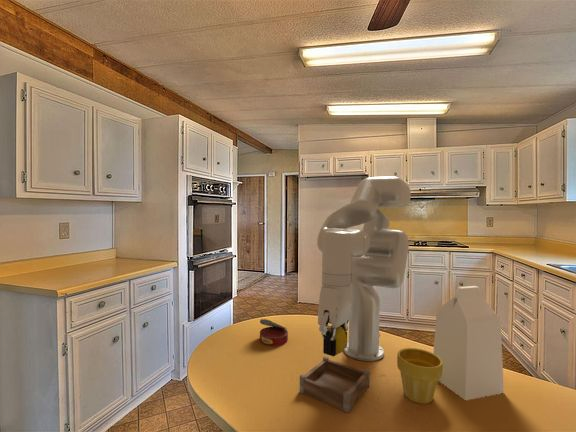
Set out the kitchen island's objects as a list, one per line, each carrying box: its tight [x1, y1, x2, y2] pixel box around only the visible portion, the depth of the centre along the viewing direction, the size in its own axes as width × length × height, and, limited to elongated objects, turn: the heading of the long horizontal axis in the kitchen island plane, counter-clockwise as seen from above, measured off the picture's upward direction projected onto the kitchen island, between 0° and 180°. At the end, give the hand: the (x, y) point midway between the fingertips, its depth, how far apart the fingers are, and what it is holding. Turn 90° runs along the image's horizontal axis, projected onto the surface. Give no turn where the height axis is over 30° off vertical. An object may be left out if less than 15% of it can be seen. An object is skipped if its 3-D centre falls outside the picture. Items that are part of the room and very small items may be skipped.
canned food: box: [259, 318, 289, 347], centre depth 109 cm, size 11×10×10 cm
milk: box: [432, 285, 505, 401], centre depth 82 cm, size 12×12×26 cm
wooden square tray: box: [299, 356, 371, 414], centre depth 80 cm, size 14×14×4 cm
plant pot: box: [396, 347, 443, 404], centre depth 77 cm, size 10×10×10 cm
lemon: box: [328, 326, 348, 356], centre depth 79 cm, size 6×6×8 cm
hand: (335, 349), depth 79 cm, fingers closed on lemon, 5 cm apart
